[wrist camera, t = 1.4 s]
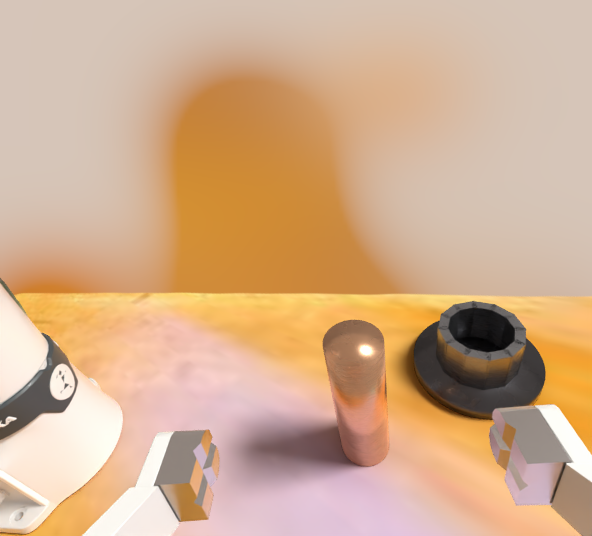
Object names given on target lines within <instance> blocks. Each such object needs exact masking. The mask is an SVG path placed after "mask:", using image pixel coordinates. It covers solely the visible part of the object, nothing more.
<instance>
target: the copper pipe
mask: <svg viewBox="0 0 592 536" xmlns="http://www.w3.org/2000/svg"><path fill="white" fill-rule="evenodd" d="M323 350H324V355H325V360H326V365H327V371H328V376H329V381H330V386H331V391H332V397H333V402H334V407H335V412H336V417H337V422H338V428H339V433H340V438H341V443H342V448H343V451H344V453H345V455H346V456H347V458H348V459H349V460H350V461H352V462H353V463H355V464H357V465H360V466H367V467H368V466H374V465H376V464H378V463H380V462H381V461H382V460H383V459H384V458H385V457H386V455H387V453H388V450H389V431H388V411H387V391H386V371H385V351H384V338H383V335H382V333H381V332H380V330H379V329H378V328H377V327H375V326H374V325H373V324H371V323H368V322H366V321H361V320H347V321H343V322H340V323H338V324H336V325H334V326H333V327H331V328H330V329H329V330H328V331H327V333H326V334H325V336H324V339H323Z"/></svg>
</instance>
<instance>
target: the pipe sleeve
mask: <svg viewBox="0 0 592 536" xmlns="http://www.w3.org/2000/svg"><path fill="white" fill-rule="evenodd" d="M414 368H415V372H416V375H417V377H418V379H419V381H420V383H421V384H422V386H423V387H424V389H425V390H426V391H427V392H428V393H429V394H430V395H431V396H432V397H433V398H434V399H435V400H437V401H438V402H439V403H441V404H442V405H444V406H446V407H447V408H449V409H451V410H453V411H455V412H458V413H460V414H463V415H466V416H470V417H474V418H480V419H493V418H492V415H493V411H494V410H495V409H497V408H509V407H520V406H533V405H534V403H535V402H536V401H537V400H538V398H539V396H540V394H541V391H542V388H543V385H544V381H545V366H544V363H543V360H542V358H541V356H540V354H539V352H538V351H537V349H536V348H535V347H534V345H533V344H532V343H531V342H530V341H529V340H528V339H527V338H526V328H525V327H524V326H523V325H522V324H521V322H520V321H519V320H518V319H517V317H516V316H515V315H514V314H512V313H510V312H508V311H506V310H505V309H503V308H501V307H499V306H497V305H495V304H488V303H482V302H475V301H472V302H466V303H461V304H454V305H453V306H452V307H450V308H449V309H448V310H446V311H445V312H444V313H442V314H441V318H440V321H438V322H435V323H433V324H432V325H430V326H429V327H427V328H426V329H425V330H424V331H423V332H422V333H421V334H420V336H419V337H418V339H417V341H416V344H415V348H414Z"/></svg>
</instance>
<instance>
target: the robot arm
mask: <svg viewBox="0 0 592 536" xmlns="http://www.w3.org/2000/svg"><path fill="white" fill-rule="evenodd" d="M492 418H493V420H494V423H495V424H494V425H493V426H492V427H491V428H490V434H489V438H490V445H491V448H492V452H493V455H494V457H495V459H496V462H497V464H499V465H500V466H501V467H502V468H504V469H505V470H506V475H505V482H506V484H507V486H508V488H509V491H510V493H511V495H512V497H513V499H514V502H515V504H516V505H551V507H552V508H553V509H554V510H555V511H556V512H557V513H558V514H560V515H561V516H562V517H563V518H564V519H565V520H566V521H567V522H568V523H569V524H570V525H571V526H572V527H573V528H574V529H576V530H577V531H578V532H579V533H580V534H581V535H582V536H592V455H591V454H590V452H589V451H588V450H587V448H586V447H585V445H584V444H583V442H582V441H581V439H580V438H579V437H578V435H577V434H576V432H575V431H574V429H573V428H572V426H571V425H570V424H569V422H568V421H567V419H566V418H565V416H564V415H563V414H562V412H561V411H560V409H559V408H558V407H557V406H555V405H551V404H550V405H539V406H520V407H509V408H497V409H495V410H494V411H493V415H492ZM122 424H123V416H122V411H121V408H120V406H119V404H118V403H117V402H116V401H115V400H114V399H113V398H111V397H110V396H108V395H107V394H105V393H104V392H102V391H101V388H100V386H99V384H98V383H97V382H96V381H95V380H94V379H92V378H87V377H86V376H85V375H84V374H83V373H82V372H80V371H79V370H78V369H77V368H76V367H75V366H74V365H73V364H72V363H71V362H70V361H69V360H68V358H67V357H66V355H65V354H64V353H63V352H62V350H61V349H60V348H59V347H58V344H57V343H56V342H55V341H53V340H52V339H51V338H50V337H49V336H48V335H46V334H44V333H41V332H40V331H39V330H38V329H37V328H36V326H35V325H34V324H33V323H32V322H31V320H30V319H29V318H28V317H27V315H26V314H25V313H24V312H23V311H22V309H21V308H20V307H19V306H18V304H17V303H16V302H15V301H14V300H13V298H12V297H11V296H10V295H9V294H8V292H7V291H6V290H5V289H4V287H3V286H2V285H1V283H0V532H7V533H20V534H26V533H30V532H32V531H33V530H35V529H36V528H37V527H38V526H39V525H40V524H41V523H42V522H43V521H44V520H45V519H46V518H47V517H48V516H49V515H50V513H51V512H52V511H53V510H54V509H55V508H56V506H57V505H59V504H60V503H61V502H62V501H63V500H65V499H66V498H67V497H69V496H70V495H71V494H73V493H74V492H76V491H77V490H78V489H80V488H81V487H82V486H83V485H84V484H86V483H87V482H88V481H89V480H90V479H91V478H92V477H93V476H94V475H95V474H96V473H97V472H98V471H99V470H100V468H101V467H102V466H103V465H104V463H105V462H106V461H107V459H108V458H109V456H110V455H111V453H112V452H113V450H114V448H115V446H116V444H117V442H118V439H119V437H120V434H121V430H122ZM211 440H212V435H211V433H210V431H209V430H194V431H172V432H159V433H158V434H157V435H156V437H155V438H154V440H153V442H152V445H151V447H150V450H149V453H148V455H147V458H146V460H145V463H144V465H143V468H142V470H141V473H140V475H139V478H138V480H137V483H136V485H135V487H131V488H129V489H128V490H127V491H126V492H125V493H124V494H123V495H122V496H121V497H120V498H119V499H118V500H117V501H116V502H115V503H114V504H113V505H112V506H111V507H110V508H109V509H108V510H107V511H106V512H105V513H104V514H103V515H102V516H101V517H100V518H99V519H98V520H97V521H96V522H95V523H94V524H93V525H92V526H91V527H90V528H89V529H88V530H87V531H86V532H85V533H84V534H83V535H82V536H171V535H172V534H173V533H174V531H175V530H176V528H177V527H178V526H179V524H180V523H179V522H182V521H195V520H208V519H209V514H210V510H211V505H212V501H213V496H214V495H213V492H212V490H211V488H210V487H211V486H212V485H213V484H214V482H215V481H216V480H217V477H218V472H219V453H218V450H217V447H216V446H215V445H214V444H212V443H211ZM22 516H23V517H22ZM21 517H22V518H21ZM20 518H21V519H20ZM19 519H20V520H19Z"/></svg>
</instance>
